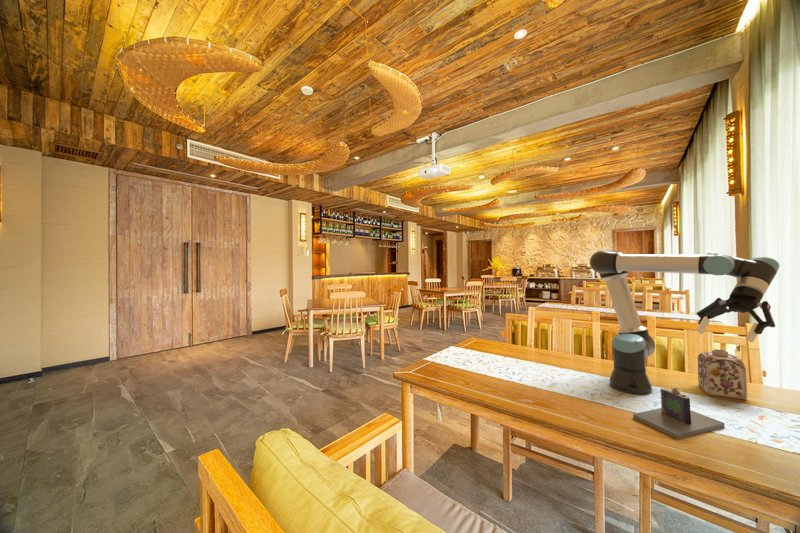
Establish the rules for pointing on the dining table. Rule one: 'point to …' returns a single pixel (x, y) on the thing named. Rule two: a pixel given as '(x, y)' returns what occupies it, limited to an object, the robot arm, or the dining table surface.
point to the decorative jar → (722, 374)
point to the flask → (675, 405)
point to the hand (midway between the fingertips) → (722, 335)
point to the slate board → (678, 423)
